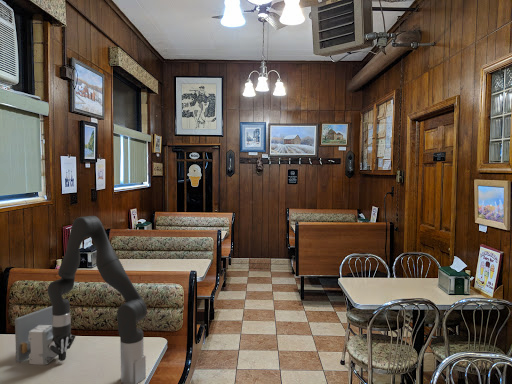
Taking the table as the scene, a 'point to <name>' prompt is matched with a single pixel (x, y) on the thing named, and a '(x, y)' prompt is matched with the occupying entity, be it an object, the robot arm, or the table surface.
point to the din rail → (25, 346)
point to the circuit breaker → (41, 345)
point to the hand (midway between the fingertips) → (62, 360)
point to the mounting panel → (29, 328)
